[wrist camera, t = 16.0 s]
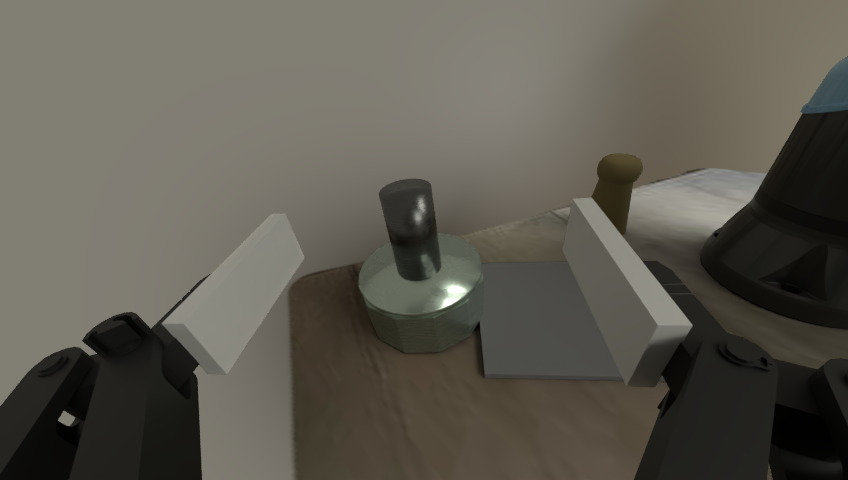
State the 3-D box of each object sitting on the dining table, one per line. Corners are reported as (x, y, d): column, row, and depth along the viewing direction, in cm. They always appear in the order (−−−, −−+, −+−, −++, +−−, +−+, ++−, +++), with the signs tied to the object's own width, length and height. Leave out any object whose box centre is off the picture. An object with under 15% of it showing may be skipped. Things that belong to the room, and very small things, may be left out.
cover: (478, 265, 40) (473, 157, 32) (488, 351, 29) (485, 220, 21) (383, 270, 42) (354, 170, 34) (358, 353, 31) (308, 234, 23)
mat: (598, 264, 39) (599, 260, 39) (673, 381, 26) (676, 377, 25) (474, 266, 41) (474, 263, 40) (484, 377, 28) (484, 373, 27)
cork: (620, 217, 47) (642, 148, 41) (630, 239, 43) (657, 164, 36) (578, 215, 49) (593, 149, 43) (583, 236, 44) (601, 164, 38)
